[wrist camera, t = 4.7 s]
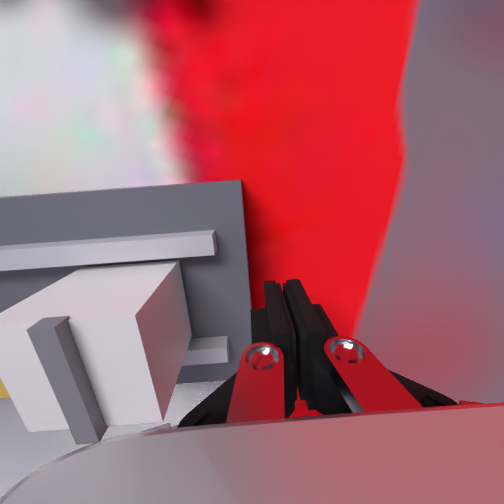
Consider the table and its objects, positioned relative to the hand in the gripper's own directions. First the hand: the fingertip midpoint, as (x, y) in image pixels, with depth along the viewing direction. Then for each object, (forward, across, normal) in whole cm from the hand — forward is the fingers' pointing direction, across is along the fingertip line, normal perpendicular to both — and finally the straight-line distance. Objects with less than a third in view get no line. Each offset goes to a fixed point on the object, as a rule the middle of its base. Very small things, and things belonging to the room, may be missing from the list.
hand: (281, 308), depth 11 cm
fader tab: (+2, +7, 0) cm, 8 cm away
